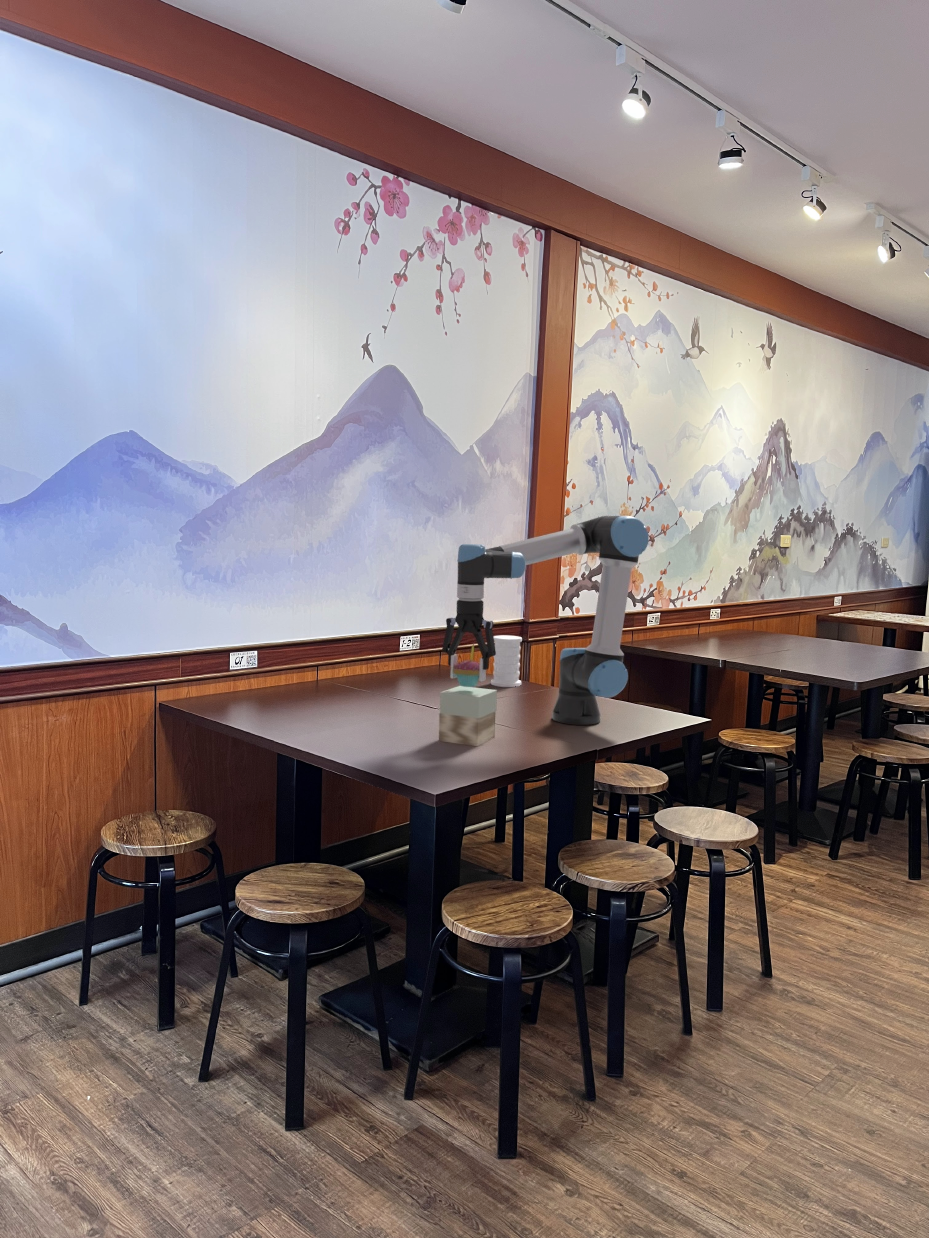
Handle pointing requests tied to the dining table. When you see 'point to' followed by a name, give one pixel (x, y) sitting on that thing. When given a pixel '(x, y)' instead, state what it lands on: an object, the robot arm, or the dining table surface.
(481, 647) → the robot arm
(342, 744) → the dining table surface
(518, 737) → the dining table surface
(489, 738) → the tower base
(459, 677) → the cupcake
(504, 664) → the decorative container
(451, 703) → the tower top
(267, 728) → the dining table surface
